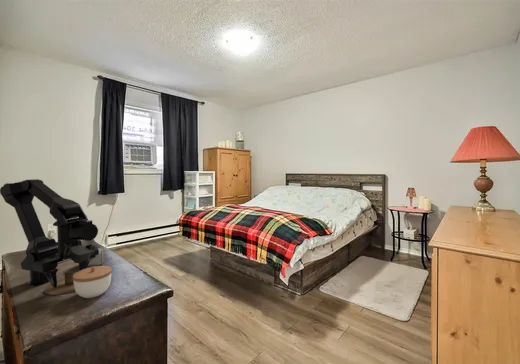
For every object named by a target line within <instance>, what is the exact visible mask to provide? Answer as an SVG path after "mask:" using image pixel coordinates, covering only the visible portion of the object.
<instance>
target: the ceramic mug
mask: <svg viewBox="0 0 520 364" xmlns="http://www.w3.org/2000/svg"><path fill="white" fill-rule="evenodd" d="M98 249H99V254H98V255H95V256H96V257H95V258H93V259H92V260H91V261H90V262H89V264H88V267H87V268H90V267H93V266H94V267H95V266H102V265H103V264H104V249H103V248H98Z"/></svg>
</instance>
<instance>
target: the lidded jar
mask: <svg viewBox="0 0 520 364" xmlns="http://www.w3.org/2000/svg"><path fill="white" fill-rule="evenodd" d="M112 271H113V269H112V267H111V266H109V265H97V266H91V267H87V268H86V269H83V270H80V269H79V270H78V271H76V272H75V273H74V275H73V283H74V289H75V293H76V294H77V295H78V296H80V297H82V298H84V299H92V298H96V297H99V296H101V295H103V294H104V293H105V292H106V291H107V290H108V289H109V286H110V284H111V281H112Z"/></svg>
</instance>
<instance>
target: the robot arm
mask: <svg viewBox="0 0 520 364" xmlns="http://www.w3.org/2000/svg"><path fill="white" fill-rule="evenodd" d="M0 195H1V196H2V198H3V200H4V202H5V203H6V204H8V205H10V206H11V207H13V208H14V210H15V213H16V214H17V217H18V219H19V222H20V225H21V227H22V230H23V232H24V235H25V238H26V240H27V242H28V243H27V247H26V249H25V255H26V257H24V258H23V260H22V262H21V263H20V267H21V270H24V271H28V273H29V281H27V282H25V283H24V284H25V285H27V286H32V287H39V286H41V285H44V284H47V283H50V284H51V285H52V286H53V287H54V288H56V287H57V281H58V280H57V279H58V278H57V277H58V276H57V272H58V271H59V268H57V267H58V266H59V264H62V263H65V262H68V261H73V263H75V264H78V268H79V271H80V270H83V269H86V268H89V267H88V264H89V262H90V261H91V260H92V259H93V258H95V257H96V256H95V255H98V254H99V249H100V248H98V246H95V244H94V243H89V244H87V245H82V241H87V242H90V241H93V240H94V239H95V238H96V237H97V236H98V235H99V229H98V227H97V225H96V224H94V223H93V220H92V219H91V220H90V219H89V218H88V216H87V214H86V213H85V212H84V210H83V208H82V206H81V205H80V204H79V203H78V202H77V201H75V200H72V199H69V198H65V197H63V196H61V195H59V194H58V193H57V192H55V191H54V190H53V189H51V188H50V187H49V186H48V185H46V184H45V183H44V181H43V180H42V179H38V178H36V179H25V180H22V181H17V182H12V183H11V182H9V183H8V182H7V183H4V184H3V186H1V187H0ZM34 198H36V199H37V200H39V201H40V202H41V203H43V204H44V205H46V206H47V208H48V209H49V214H50V215H51V216H52V217H53V218H54V219H55V220H56V221H55V222H53V223H52V226H53V227H56V229H57V230H56V231H57V241H56V239H55V238H49V237H47V236H46V234H45V232H44V229H43V226H42V224H41V221H40V220H39V216H38V215H37V212H36V209H35V207H34V205H33V201H34Z"/></svg>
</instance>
